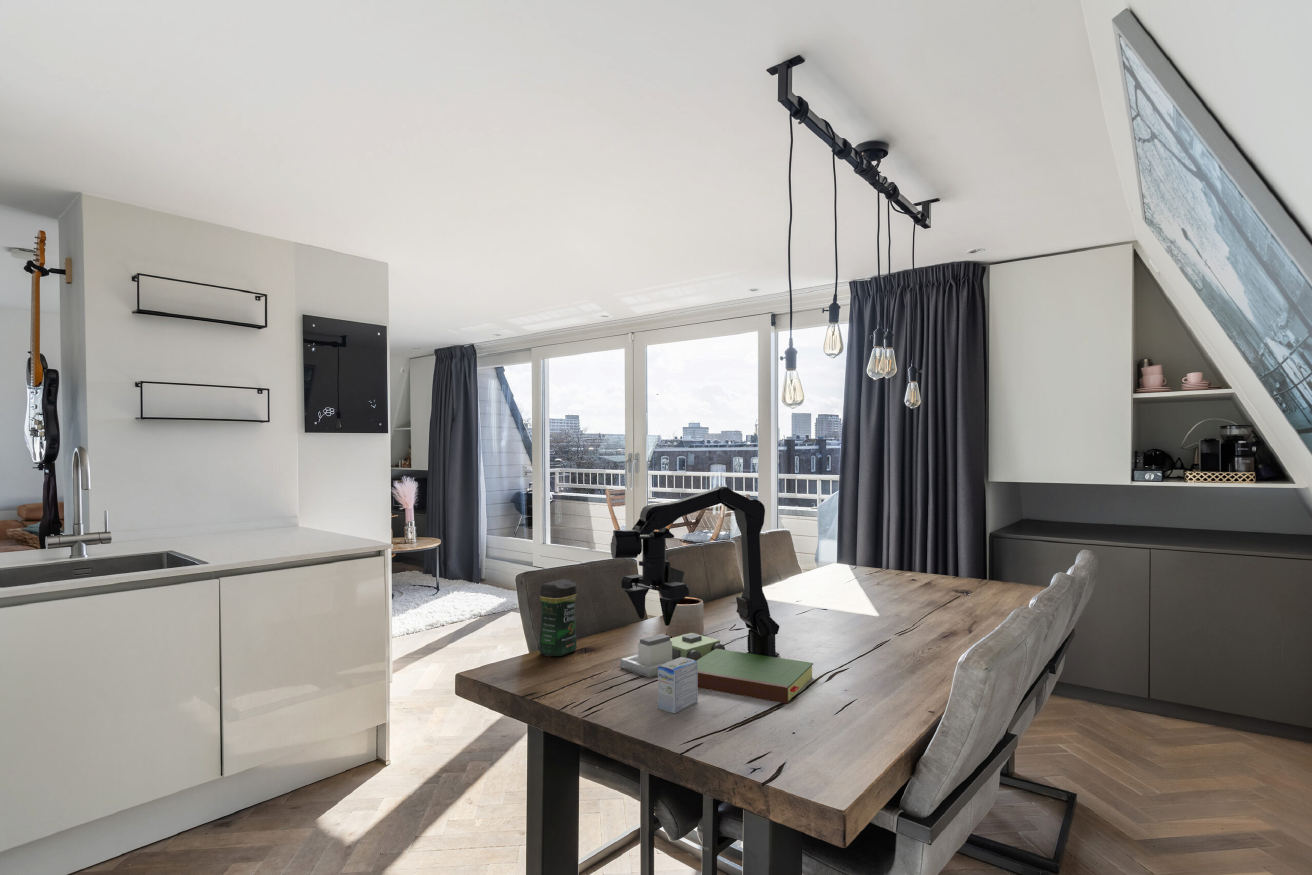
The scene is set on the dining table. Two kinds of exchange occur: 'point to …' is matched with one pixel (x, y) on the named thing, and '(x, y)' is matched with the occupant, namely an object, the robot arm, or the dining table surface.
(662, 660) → the chute block
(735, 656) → the hardcover book
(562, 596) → the coffee jar
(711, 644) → the green wheeled cart
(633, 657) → the gray rectangular open frame
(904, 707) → the dining table surface
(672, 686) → the medicine box
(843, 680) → the dining table surface
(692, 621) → the planter
